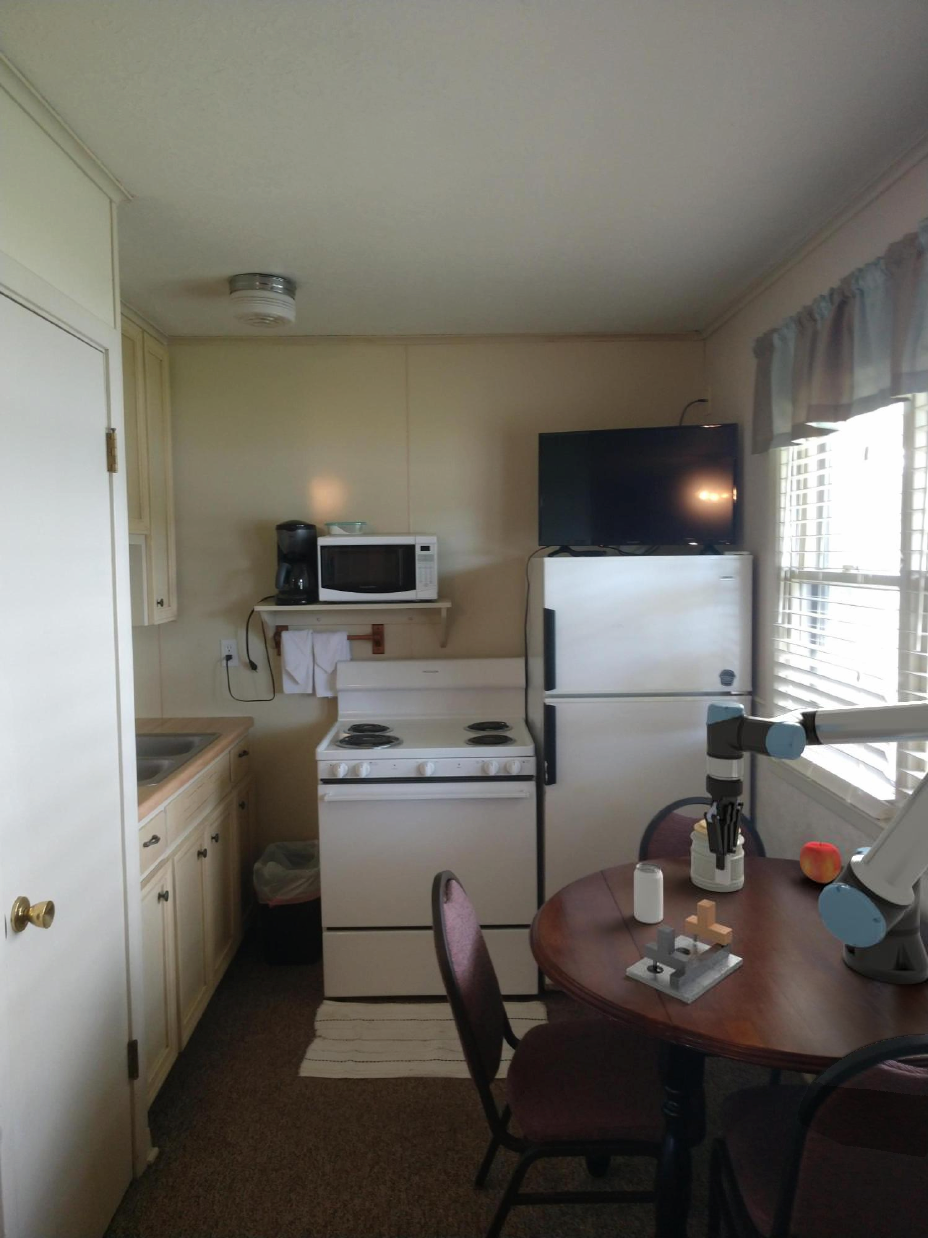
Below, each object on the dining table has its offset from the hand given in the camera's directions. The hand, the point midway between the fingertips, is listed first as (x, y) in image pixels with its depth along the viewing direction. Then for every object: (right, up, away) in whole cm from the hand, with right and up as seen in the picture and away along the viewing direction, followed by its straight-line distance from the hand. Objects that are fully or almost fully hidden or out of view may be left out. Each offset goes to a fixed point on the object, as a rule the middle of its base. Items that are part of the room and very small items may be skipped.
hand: (722, 882), depth 164 cm
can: (-13, -12, +12) cm, 22 cm away
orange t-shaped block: (-5, -12, -5) cm, 13 cm away
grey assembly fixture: (-11, -14, -11) cm, 21 cm away
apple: (+35, -10, +30) cm, 47 cm away
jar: (+9, -11, +31) cm, 34 cm away
